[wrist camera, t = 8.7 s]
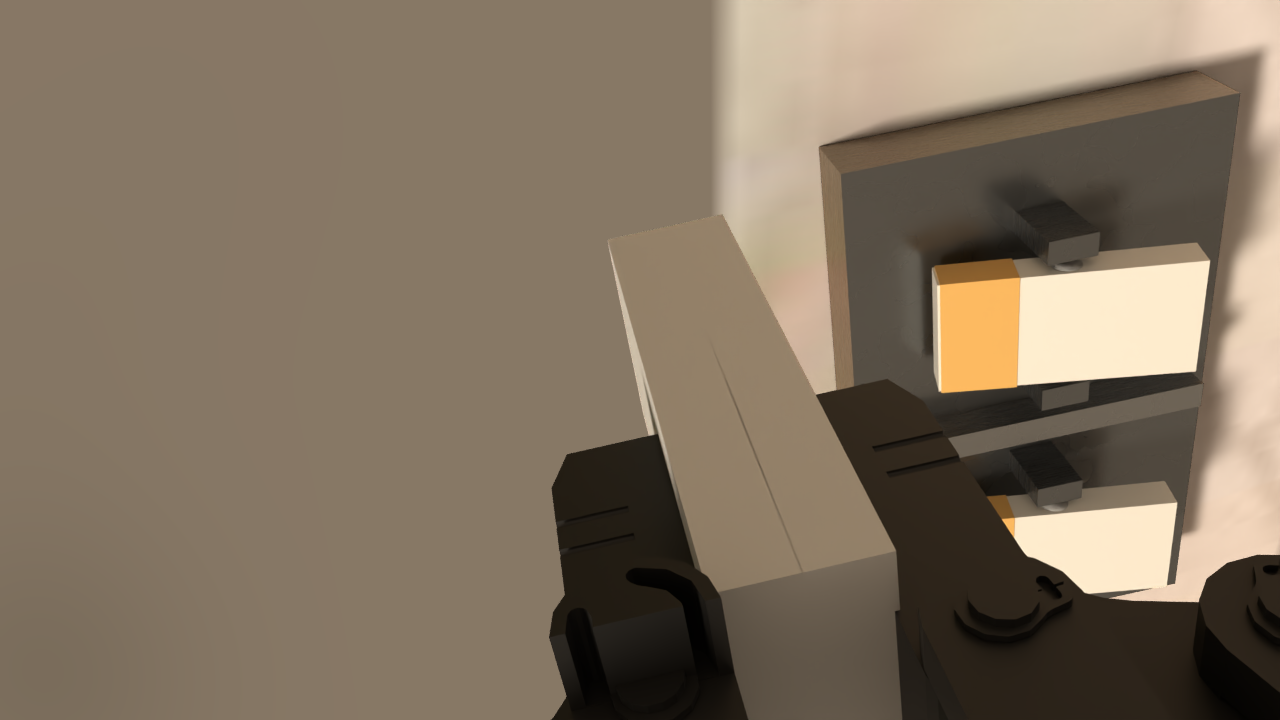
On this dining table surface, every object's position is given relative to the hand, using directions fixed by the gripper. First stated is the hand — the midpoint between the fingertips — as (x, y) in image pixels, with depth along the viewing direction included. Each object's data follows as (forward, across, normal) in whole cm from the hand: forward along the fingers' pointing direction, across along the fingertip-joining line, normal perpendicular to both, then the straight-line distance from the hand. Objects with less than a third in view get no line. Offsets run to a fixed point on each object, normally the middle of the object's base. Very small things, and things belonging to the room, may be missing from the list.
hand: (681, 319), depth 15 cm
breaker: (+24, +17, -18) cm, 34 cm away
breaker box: (+29, +17, -24) cm, 41 cm away
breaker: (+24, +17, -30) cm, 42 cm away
